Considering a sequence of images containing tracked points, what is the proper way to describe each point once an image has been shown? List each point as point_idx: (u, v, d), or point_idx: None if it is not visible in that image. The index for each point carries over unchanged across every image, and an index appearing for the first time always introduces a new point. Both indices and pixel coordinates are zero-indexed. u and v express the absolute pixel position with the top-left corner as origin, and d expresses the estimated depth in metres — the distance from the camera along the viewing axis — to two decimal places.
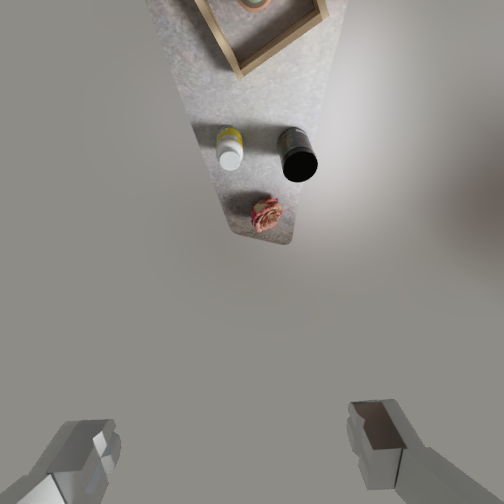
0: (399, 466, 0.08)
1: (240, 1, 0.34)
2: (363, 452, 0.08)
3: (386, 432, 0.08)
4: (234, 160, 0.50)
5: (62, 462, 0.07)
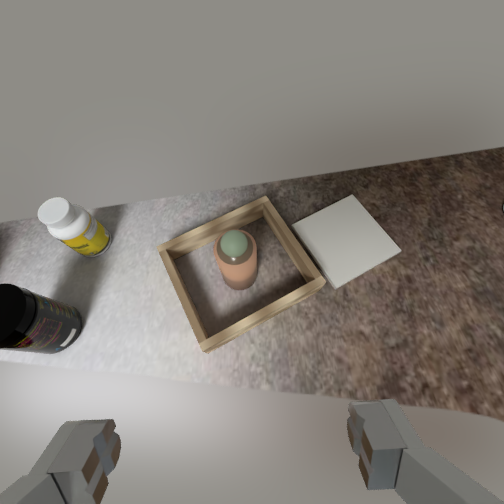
0: (399, 466, 0.08)
1: (223, 234, 0.33)
2: (363, 452, 0.08)
3: (386, 432, 0.08)
4: (53, 215, 0.34)
5: (61, 462, 0.07)
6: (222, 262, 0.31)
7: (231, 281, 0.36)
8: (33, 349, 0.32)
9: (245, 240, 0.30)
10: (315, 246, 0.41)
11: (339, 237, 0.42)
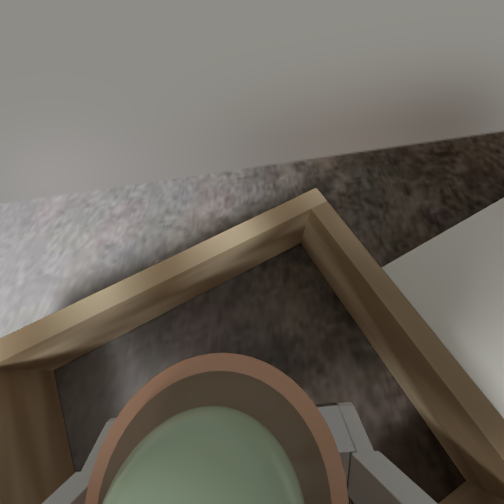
0: (349, 470, 0.08)
1: (155, 389, 0.06)
2: None
3: (337, 435, 0.08)
4: None
5: None
6: None
7: None
8: None
9: None
10: (461, 334, 0.14)
11: None
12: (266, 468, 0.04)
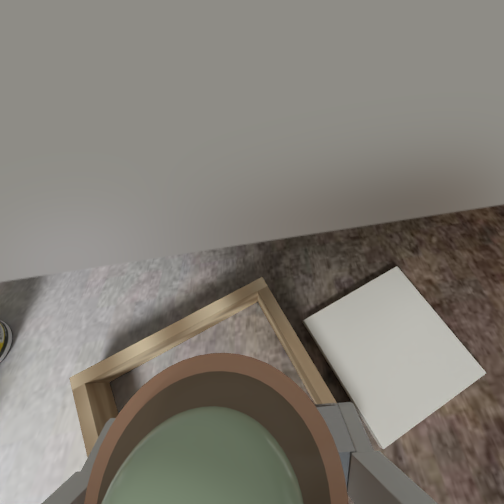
0: (349, 470, 0.08)
1: (154, 389, 0.06)
2: None
3: (337, 435, 0.08)
4: None
5: None
6: None
7: None
8: None
9: None
10: (343, 361, 0.25)
11: (382, 345, 0.25)
12: (265, 468, 0.04)
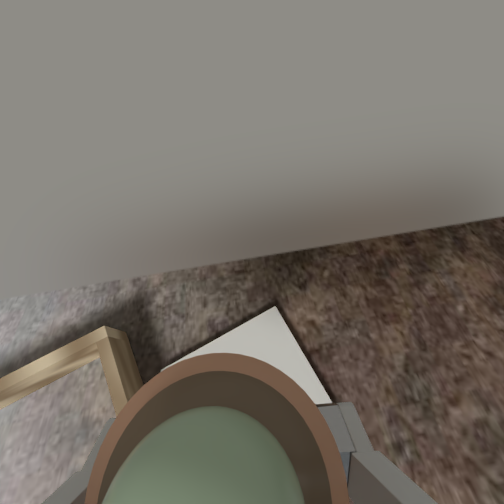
0: (349, 470, 0.08)
1: (155, 389, 0.06)
2: None
3: (337, 435, 0.08)
4: None
5: None
6: None
7: None
8: None
9: None
10: None
11: None
12: (266, 469, 0.04)
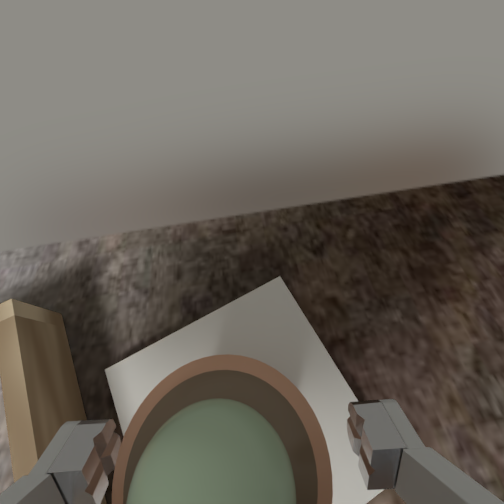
0: (399, 466, 0.08)
1: (169, 385, 0.07)
2: (363, 452, 0.08)
3: (386, 432, 0.08)
4: None
5: (62, 462, 0.07)
6: None
7: None
8: None
9: None
10: None
11: None
12: (262, 445, 0.05)
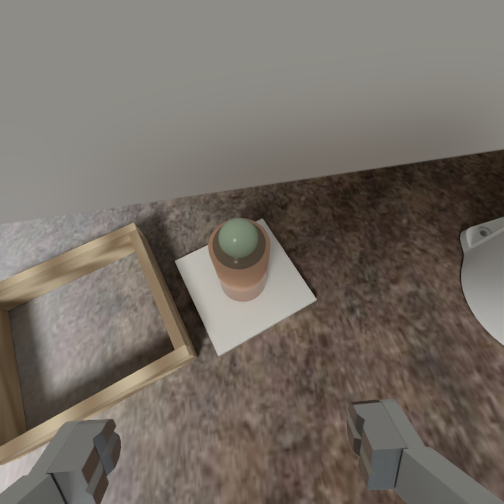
0: (399, 466, 0.08)
1: (222, 225, 0.23)
2: (363, 452, 0.08)
3: (386, 432, 0.08)
4: None
5: (62, 462, 0.07)
6: (221, 265, 0.21)
7: (233, 291, 0.26)
8: None
9: (255, 233, 0.20)
10: (201, 292, 0.30)
11: None
12: (250, 222, 0.21)
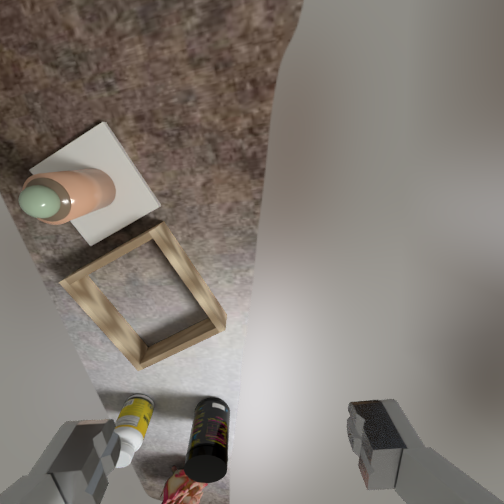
0: (399, 466, 0.08)
1: None
2: (363, 452, 0.08)
3: (386, 432, 0.08)
4: (123, 458, 0.41)
5: (62, 462, 0.07)
6: (70, 213, 0.28)
7: (101, 199, 0.33)
8: (227, 429, 0.46)
9: (29, 188, 0.25)
10: (113, 223, 0.37)
11: None
12: (21, 193, 0.25)
